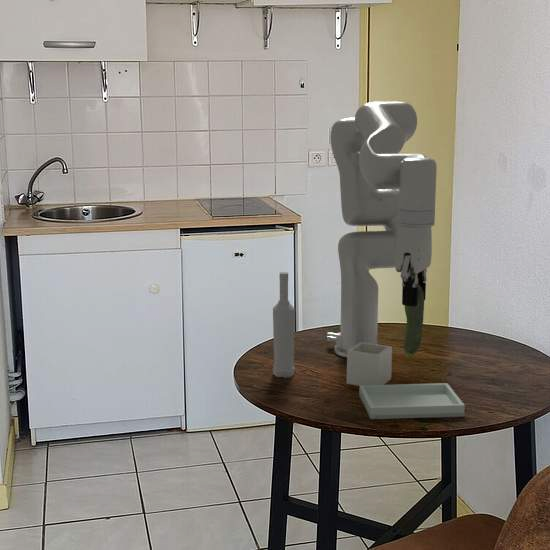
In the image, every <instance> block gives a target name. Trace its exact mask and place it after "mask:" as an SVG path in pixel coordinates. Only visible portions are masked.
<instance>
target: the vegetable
mask: <svg viewBox="0 0 550 550" xmlns="http://www.w3.org/2000/svg"><path fill="white" fill-rule="evenodd" d="M409 272H412V273H414V272H413V270H409ZM409 276H410V277H412V280H413V275H409ZM418 284H419V283H418V277H417V284H416V287H417V288H418V301H417V306H406V305H403V306H404V312H405V316H406V328H405V335H404V341H403V348H404V353H405V354H406V356H407V357H409V358H411V357H412V356H414V354H415V353H417V352H418V351H419V349H420V346H421V342H422V339H423V338H422V337H423V327H424V313H425V301H424V293H423V290H422V288H421V286H420V285H418Z"/></svg>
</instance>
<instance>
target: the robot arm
mask: <svg viewBox="0 0 550 550" xmlns="http://www.w3.org/2000/svg"><path fill="white" fill-rule="evenodd" d="M354 115H355V116H354V117H346V118H342V119H339V120H337V121H335V122H334V123H333V125H332V127H331V130H330V146H331V151H332V155H333V158H334V161H335V163H336V166H337V168H338V174H339V186H340V202H341V205H340V206H341V214H342V220H343V221H344V223H345V224H346V225H348V226H351V227H373V226H374V227H375V226H377V227H379V226H380V227H384V230H366V231H365V230H364V231H362V230H361V231H353V232H352V231H351V232H348V233H345V234H344V235H341V237H340V239H339V241H338V244H337V251H338V252H337V253H338V254H337V255H338V258H339V265H340V266H339V267H340V332H338V333H336V332H332V331H329V332H328V331H327V334H326V340H327V342H331V343H332V342H333V343H335V345H334V348H333V350H334V351H333V352H334V353H335V354H336V355H338V356H340V357H343V358H347V351H348V350H349V349H351V348H352V347H354V346H355V345H357V344H358V343H360V342H364V343H371V344H378V324H379V323H378V322H379V320H378V317H379V315H378V314H379V286H378V285H379V284H378V282H377V280H376V279H375V278H374V276H372V274H371V273H370V270H375V269H394V268H395V271H396V273H400V278H401V280H402V283H401V287H402V290H401V291H402V294H401V304H402V306H404V305H406V306H417V301H418V288H417V287H416V284H417V277H418V283H419V284H418V285H420V286H421V288H422V290H423V293H424V302H425V300H426V291H427V283H426V282H427V272H428V270H427V269H428V268H429V267H430V266H431V264H432V253H433V252H432V249H433V245H432V244H433V242H432V241H433V238H432V236H433V235H432V227H433V226H435V222H436V219H435V218H436V196H437V195H436V194H437V193H436V191H437V170H438V169H437V162H436V160H434V159H432V158H430V157H428V156H426V155H424V154H423V153H400V152H401V151H402V149H403V148H404V145H405V144H406V143H407V142H408V141H409V140H410V139H411V138H412V137H413V136H414V134H415V132H416V130H417V127H418V115H417V112H416V109H415V108H414V107H413V105H411V103H408V102H406V101H371V102H367V103H364V104H362V105H361V106H359V108H358V109H357V110H356V113H355V114H354ZM409 270H413V272H414V273H412V272H410V271H409ZM409 275H413V280H412V277H410V276H409Z"/></svg>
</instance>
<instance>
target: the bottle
mask: <svg viewBox="0 0 550 550" xmlns="http://www.w3.org/2000/svg"><path fill="white" fill-rule="evenodd" d="M295 311H296V308H295V307H294V306H293V305H292V304H291V303H290V300H289V272H286V271H282V272H279V300H278V302H277V304H275V306H273V308H272V322H273V323H272V328H273V329H272V331H273V367H272V373H273V375H275V376H274V377H276V376H277V378H279V377H284V378H285V379H286V378H287V377H288V378H291V377H293V376H294V374H295V367H294V358H295V357H294V356H295V354H294V353H295V351H294V348H295V318H296V317H295V313H296V312H295ZM284 378H283V379H284Z"/></svg>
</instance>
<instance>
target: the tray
mask: <svg viewBox="0 0 550 550" xmlns="http://www.w3.org/2000/svg"><path fill="white" fill-rule="evenodd" d="M358 387H359V389H358V391H359V394H358V396H359V398H360V401H361V403H362V405H363V406H364V409H365V411H366V412H367V415H368V417H369V419H370V420H383V419H384V420H385V419H389V420H390V419H414V418H415V419H418V418H419V419H420V418H422V419H423V418H457V417H465V409H466V408H465V407H466V406H465V403H464V402H463V401H462V400H461V399H460V397H459V396H458V395H457V394H456V393H455V392H456V391H454V390H453V388H452V387H451V386H450V384H449V383H445V382H444V383H443V382H442V383H440V382H439V383H436V382H435V383H408V384H407V383H406V384H405V383H404V384H403V383H401V384H399V383H398V384H384V385H360V386H358Z"/></svg>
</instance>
